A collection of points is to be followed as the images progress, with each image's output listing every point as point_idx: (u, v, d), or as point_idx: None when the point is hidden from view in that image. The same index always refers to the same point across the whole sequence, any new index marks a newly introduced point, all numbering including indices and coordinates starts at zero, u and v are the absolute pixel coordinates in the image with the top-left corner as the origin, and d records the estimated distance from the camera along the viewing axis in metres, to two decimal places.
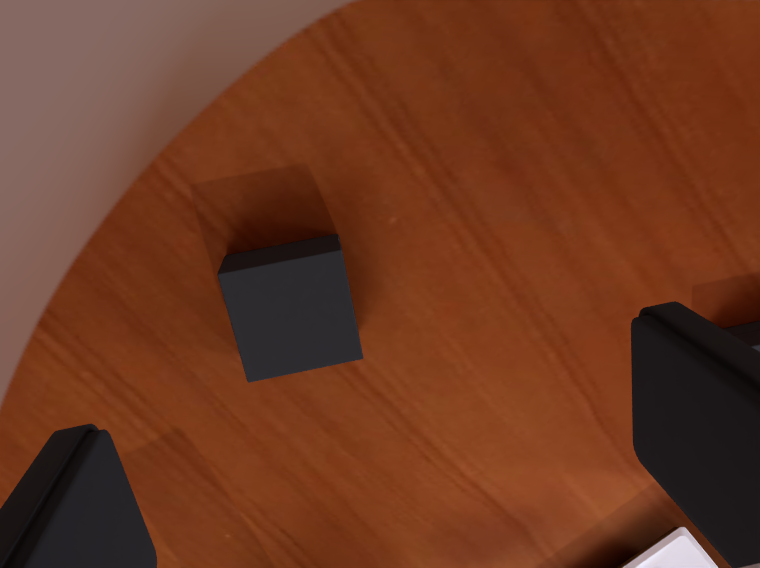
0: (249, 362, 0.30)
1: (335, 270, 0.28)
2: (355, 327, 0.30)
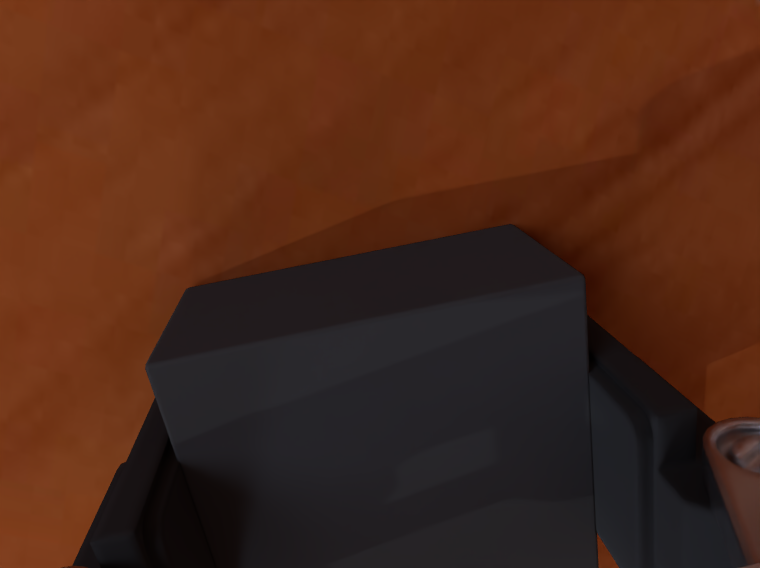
0: (235, 372, 0.08)
1: None
2: None
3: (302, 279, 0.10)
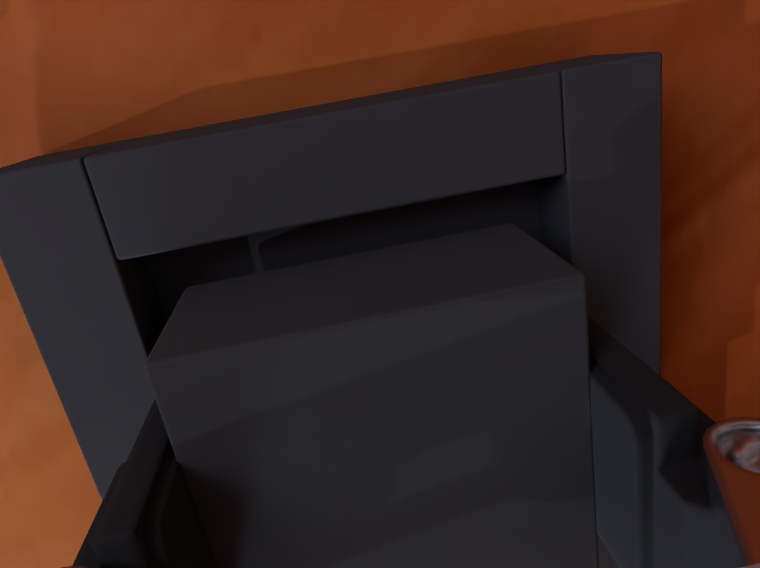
0: (234, 371, 0.08)
1: None
2: None
3: (302, 278, 0.10)
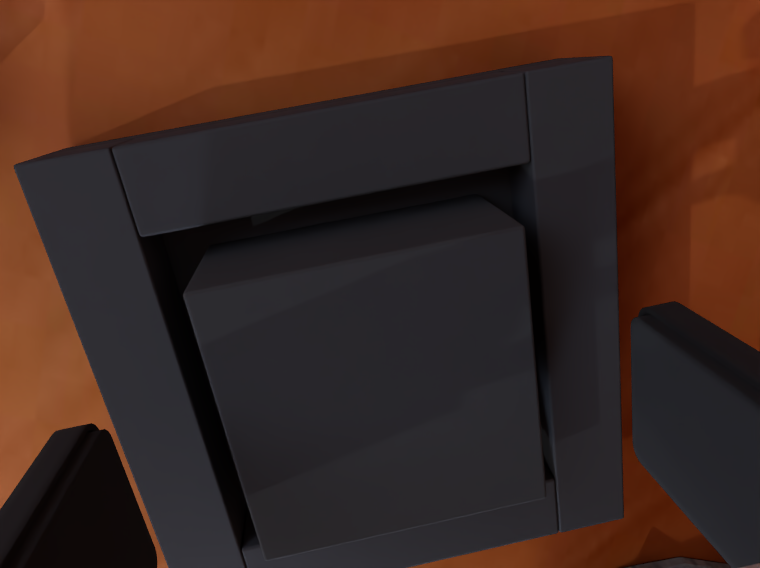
0: (252, 299, 0.10)
1: (499, 491, 0.12)
2: (352, 540, 0.12)
3: (304, 236, 0.12)
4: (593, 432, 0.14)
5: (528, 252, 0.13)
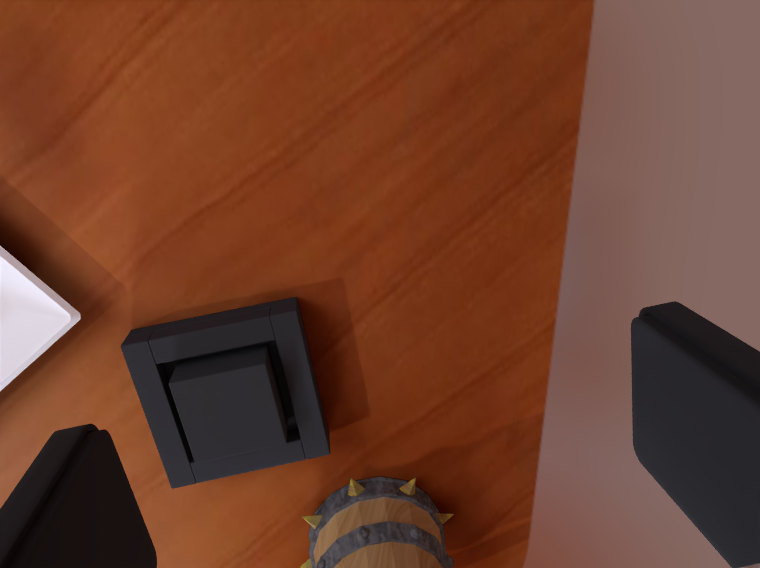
0: (188, 384, 0.36)
1: (270, 441, 0.38)
2: (223, 456, 0.38)
3: (207, 360, 0.38)
4: (312, 423, 0.40)
5: None
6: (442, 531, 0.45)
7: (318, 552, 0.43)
